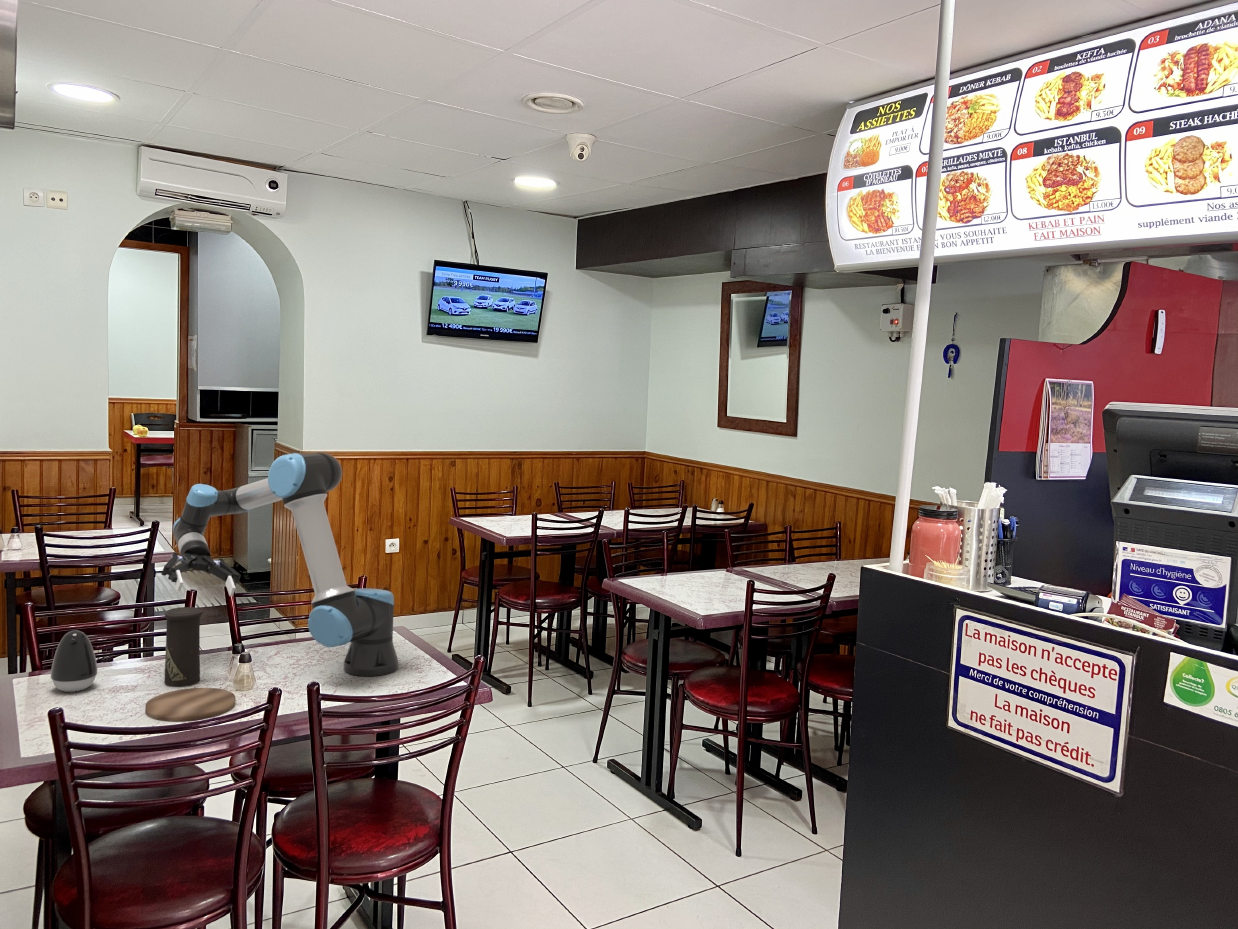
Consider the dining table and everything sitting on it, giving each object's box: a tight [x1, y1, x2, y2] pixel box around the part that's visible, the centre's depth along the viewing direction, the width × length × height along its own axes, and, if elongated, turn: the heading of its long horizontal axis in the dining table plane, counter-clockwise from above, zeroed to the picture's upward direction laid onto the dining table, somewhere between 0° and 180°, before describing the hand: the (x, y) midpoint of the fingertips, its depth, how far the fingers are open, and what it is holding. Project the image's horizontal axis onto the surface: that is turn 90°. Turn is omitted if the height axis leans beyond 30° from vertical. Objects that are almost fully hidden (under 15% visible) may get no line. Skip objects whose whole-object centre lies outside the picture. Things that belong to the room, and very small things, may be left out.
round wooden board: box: [144, 687, 236, 722], centre depth 218 cm, size 20×20×2 cm
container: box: [164, 606, 203, 688], centre depth 235 cm, size 9×9×20 cm
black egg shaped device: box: [50, 629, 98, 693], centre depth 226 cm, size 10×10×15 cm
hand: (206, 589), depth 239 cm, fingers open, 13 cm apart
